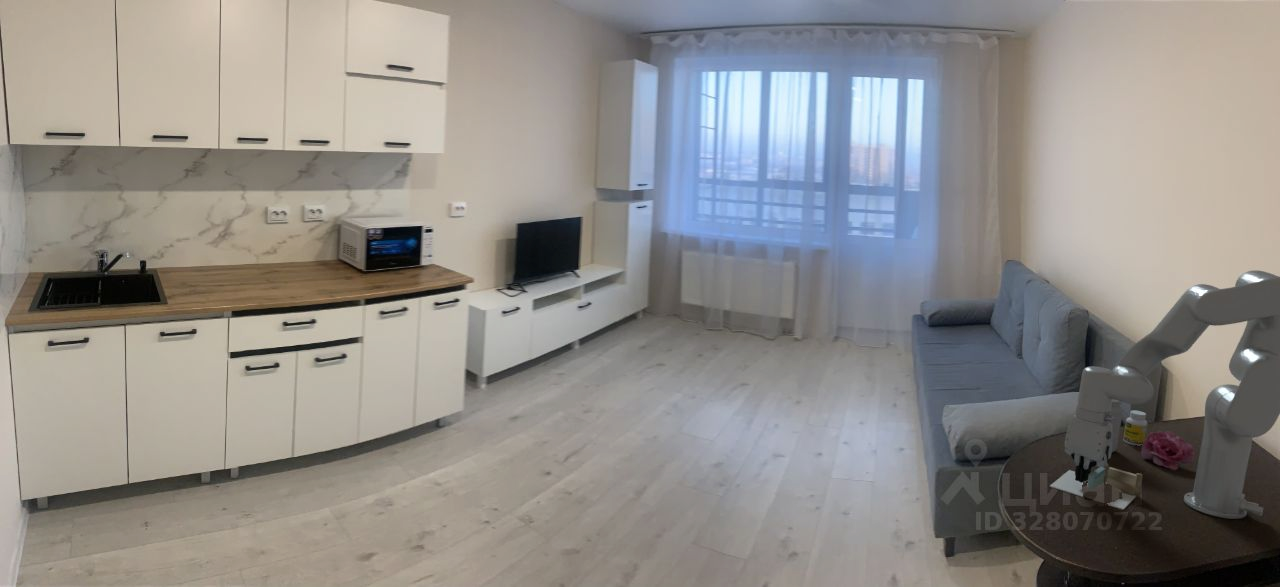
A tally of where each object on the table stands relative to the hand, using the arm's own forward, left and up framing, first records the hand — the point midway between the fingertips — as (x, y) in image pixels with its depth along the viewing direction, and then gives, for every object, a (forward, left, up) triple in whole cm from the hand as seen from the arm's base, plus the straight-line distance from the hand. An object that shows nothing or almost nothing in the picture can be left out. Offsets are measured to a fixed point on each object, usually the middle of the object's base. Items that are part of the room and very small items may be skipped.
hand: (1081, 480), depth 198 cm
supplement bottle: (0, -48, -2) cm, 48 cm away
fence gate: (-3, 0, -1) cm, 3 cm away
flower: (-11, -37, -2) cm, 39 cm away
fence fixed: (-7, -6, -2) cm, 9 cm away
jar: (+6, -34, -2) cm, 34 cm away
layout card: (-3, -2, -2) cm, 4 cm away
